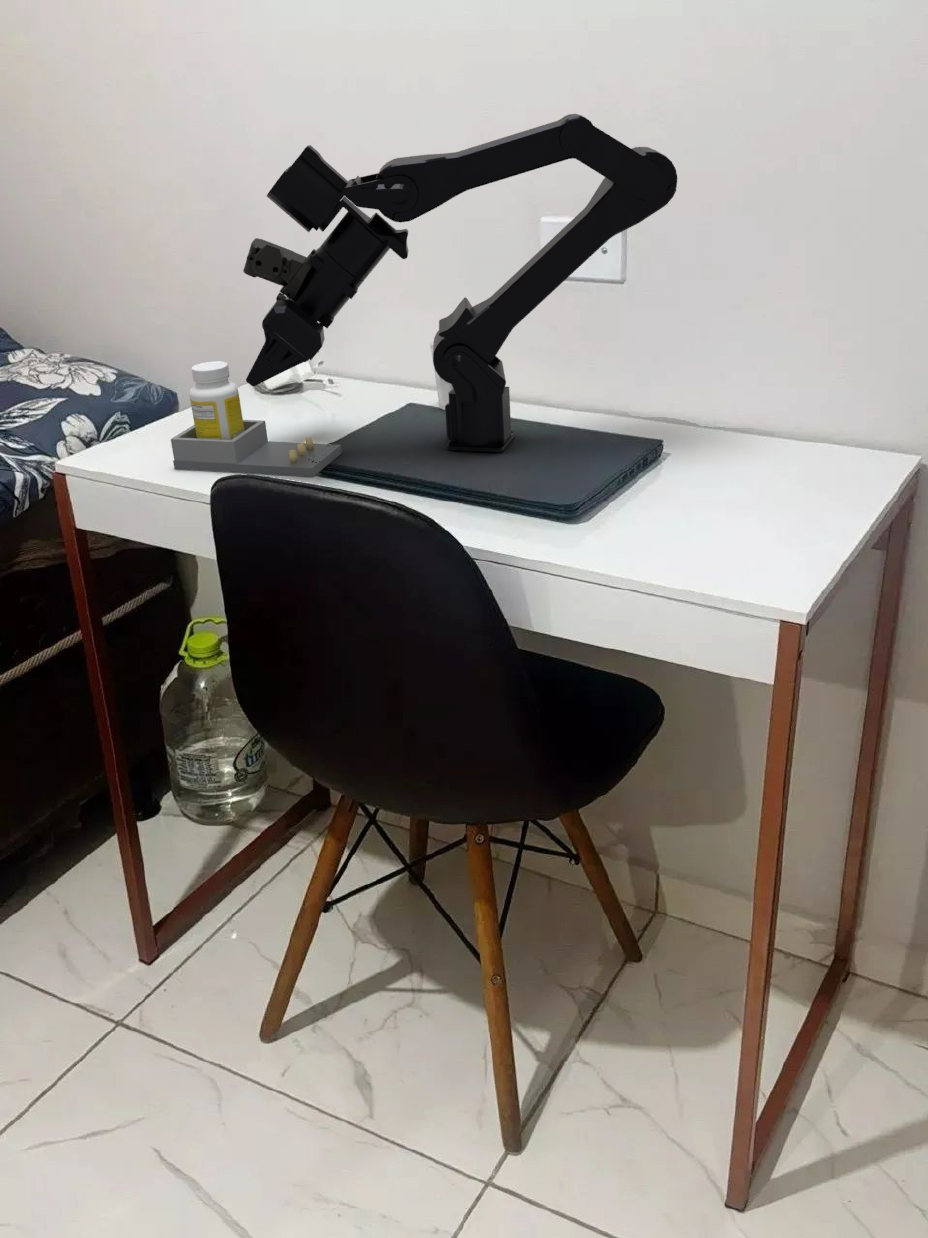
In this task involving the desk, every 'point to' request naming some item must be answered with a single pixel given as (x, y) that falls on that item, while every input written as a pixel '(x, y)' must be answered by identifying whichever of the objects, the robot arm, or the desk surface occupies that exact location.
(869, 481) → the desk surface
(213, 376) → the supplement bottle
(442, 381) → the milkshake
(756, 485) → the desk surface
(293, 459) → the grey organizer tray
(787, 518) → the desk surface
